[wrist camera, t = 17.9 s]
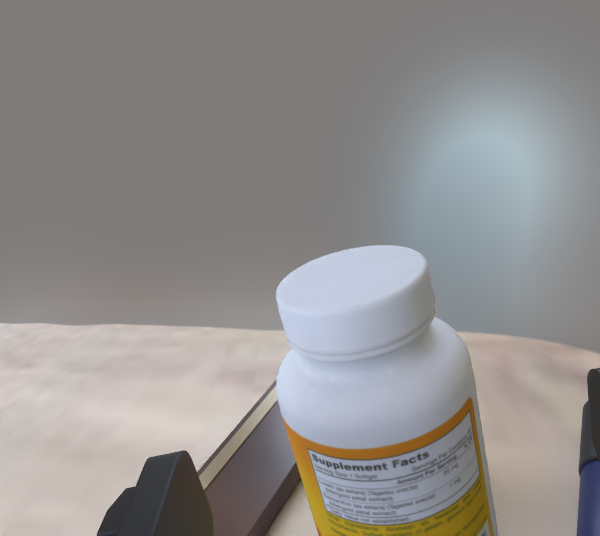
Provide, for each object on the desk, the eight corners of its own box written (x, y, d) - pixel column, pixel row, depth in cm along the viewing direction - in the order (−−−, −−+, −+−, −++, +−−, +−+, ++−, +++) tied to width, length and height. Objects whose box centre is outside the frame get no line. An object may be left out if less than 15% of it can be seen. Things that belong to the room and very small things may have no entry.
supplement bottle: (354, 478, 20) (293, 244, 17) (503, 492, 18) (466, 225, 15) (306, 612, 16) (208, 329, 12) (497, 653, 14) (441, 320, 10)
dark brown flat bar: (138, 735, 14) (127, 714, 13) (45, 678, 16) (34, 658, 16) (370, 367, 27) (367, 353, 27) (303, 362, 29) (300, 349, 29)
